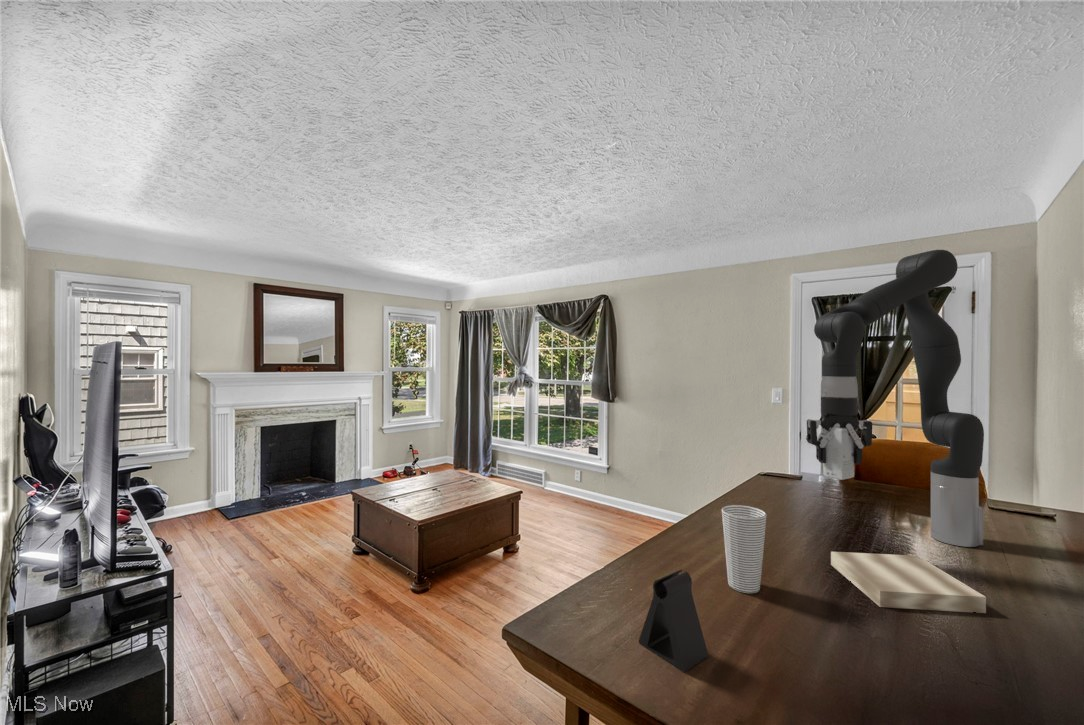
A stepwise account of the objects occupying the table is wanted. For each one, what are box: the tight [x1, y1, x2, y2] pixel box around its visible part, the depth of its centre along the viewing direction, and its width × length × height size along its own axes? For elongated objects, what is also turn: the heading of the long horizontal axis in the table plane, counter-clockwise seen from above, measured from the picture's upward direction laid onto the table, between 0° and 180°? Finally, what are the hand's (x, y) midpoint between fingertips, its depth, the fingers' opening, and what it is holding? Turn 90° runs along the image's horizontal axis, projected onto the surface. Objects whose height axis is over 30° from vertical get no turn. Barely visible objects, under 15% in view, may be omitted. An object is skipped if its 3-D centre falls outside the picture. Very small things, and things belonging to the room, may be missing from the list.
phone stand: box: [638, 568, 709, 673], centre depth 72 cm, size 9×6×12 cm, turn 36°
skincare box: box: [823, 428, 855, 481], centre depth 110 cm, size 6×4×12 cm
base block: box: [830, 551, 987, 614], centre depth 93 cm, size 18×18×3 cm
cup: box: [721, 504, 767, 594], centre depth 93 cm, size 8×8×16 cm
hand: (838, 462), depth 110 cm, fingers closed on skincare box, 7 cm apart
